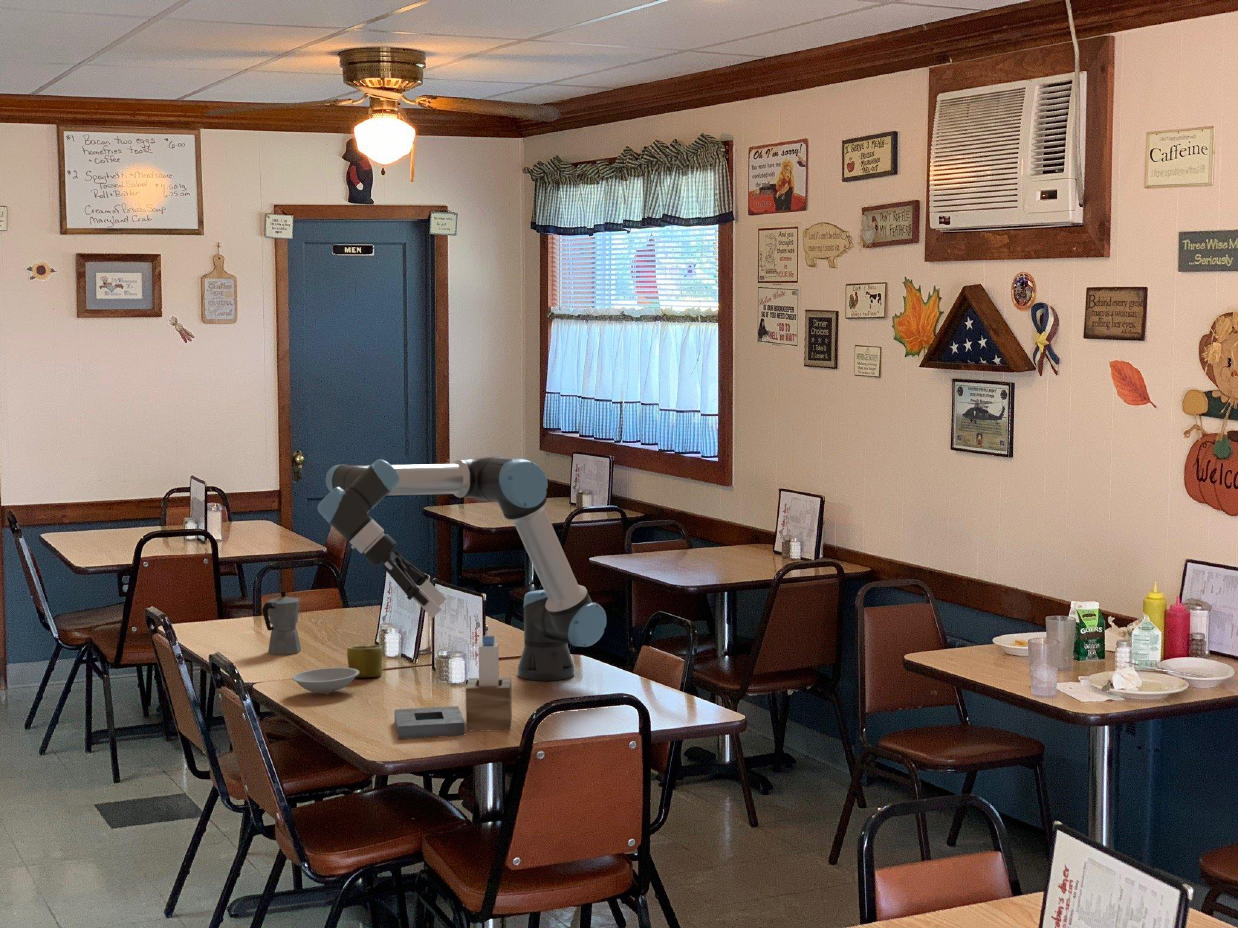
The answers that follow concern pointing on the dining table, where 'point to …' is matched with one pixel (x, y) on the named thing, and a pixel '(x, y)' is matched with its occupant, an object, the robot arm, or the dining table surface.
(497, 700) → the upper socket
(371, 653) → the mug
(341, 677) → the dish
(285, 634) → the coffeepot
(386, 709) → the dining table surface
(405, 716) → the lower socket
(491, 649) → the plug
